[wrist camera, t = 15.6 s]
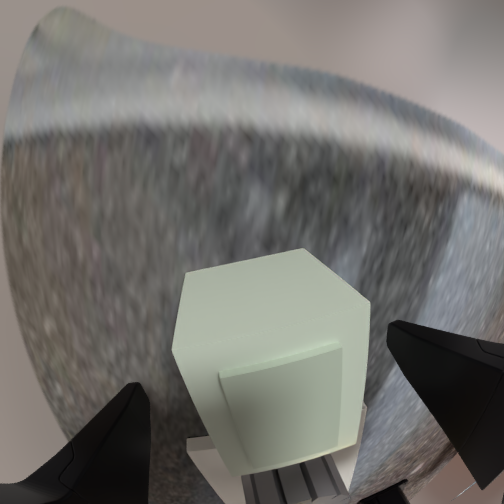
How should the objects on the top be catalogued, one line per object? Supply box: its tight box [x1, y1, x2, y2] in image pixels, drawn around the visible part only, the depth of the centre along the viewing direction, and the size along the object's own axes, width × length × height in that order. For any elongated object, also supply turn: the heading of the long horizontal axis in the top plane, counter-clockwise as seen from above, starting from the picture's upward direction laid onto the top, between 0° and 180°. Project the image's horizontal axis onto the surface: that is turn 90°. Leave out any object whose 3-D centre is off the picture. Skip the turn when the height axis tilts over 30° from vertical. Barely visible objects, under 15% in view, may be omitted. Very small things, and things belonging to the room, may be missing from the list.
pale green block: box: [172, 248, 370, 477], centre depth 9 cm, size 6×4×5 cm
